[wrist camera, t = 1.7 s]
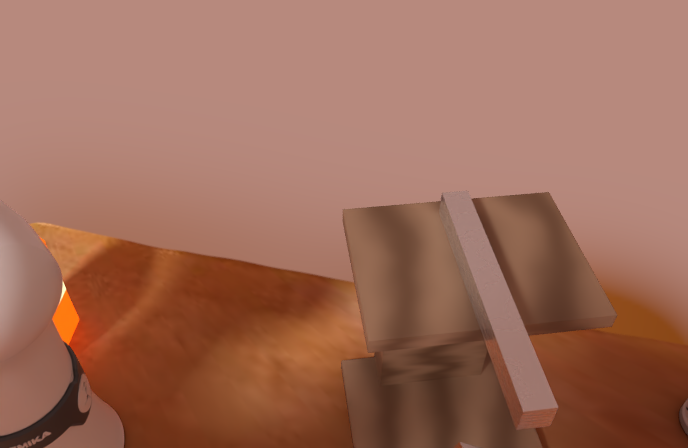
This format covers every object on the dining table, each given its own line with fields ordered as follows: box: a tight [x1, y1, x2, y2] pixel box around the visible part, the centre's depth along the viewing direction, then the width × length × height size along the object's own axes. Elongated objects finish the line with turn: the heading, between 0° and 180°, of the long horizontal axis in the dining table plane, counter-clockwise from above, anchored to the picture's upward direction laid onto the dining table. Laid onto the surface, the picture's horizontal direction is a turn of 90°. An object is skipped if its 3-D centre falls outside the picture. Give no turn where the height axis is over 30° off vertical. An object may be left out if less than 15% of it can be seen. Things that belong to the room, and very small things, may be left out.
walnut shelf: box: [341, 192, 617, 448], centre depth 64 cm, size 20×15×26 cm
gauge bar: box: [439, 191, 558, 430], centre depth 51 cm, size 2×22×2 cm, turn 8°
